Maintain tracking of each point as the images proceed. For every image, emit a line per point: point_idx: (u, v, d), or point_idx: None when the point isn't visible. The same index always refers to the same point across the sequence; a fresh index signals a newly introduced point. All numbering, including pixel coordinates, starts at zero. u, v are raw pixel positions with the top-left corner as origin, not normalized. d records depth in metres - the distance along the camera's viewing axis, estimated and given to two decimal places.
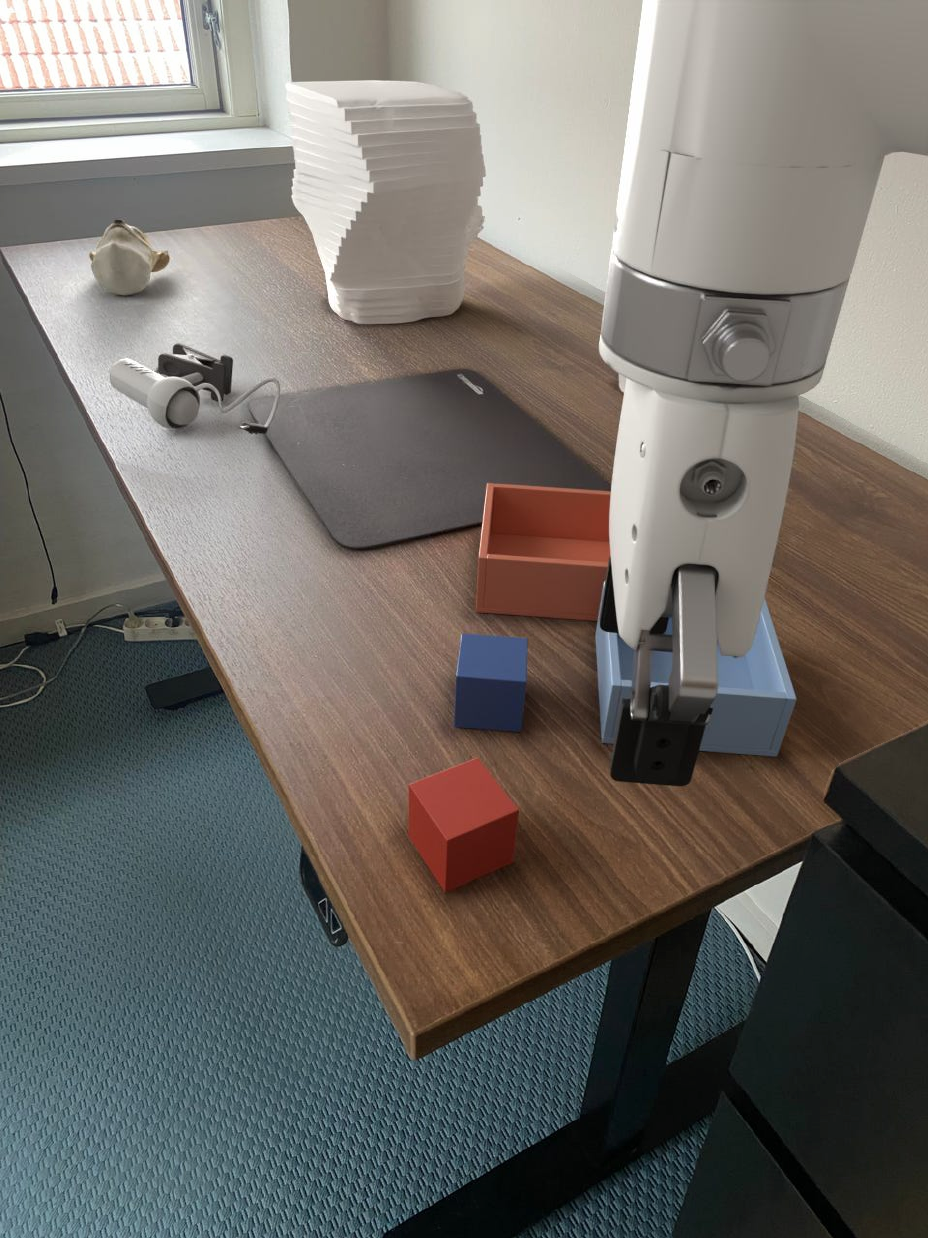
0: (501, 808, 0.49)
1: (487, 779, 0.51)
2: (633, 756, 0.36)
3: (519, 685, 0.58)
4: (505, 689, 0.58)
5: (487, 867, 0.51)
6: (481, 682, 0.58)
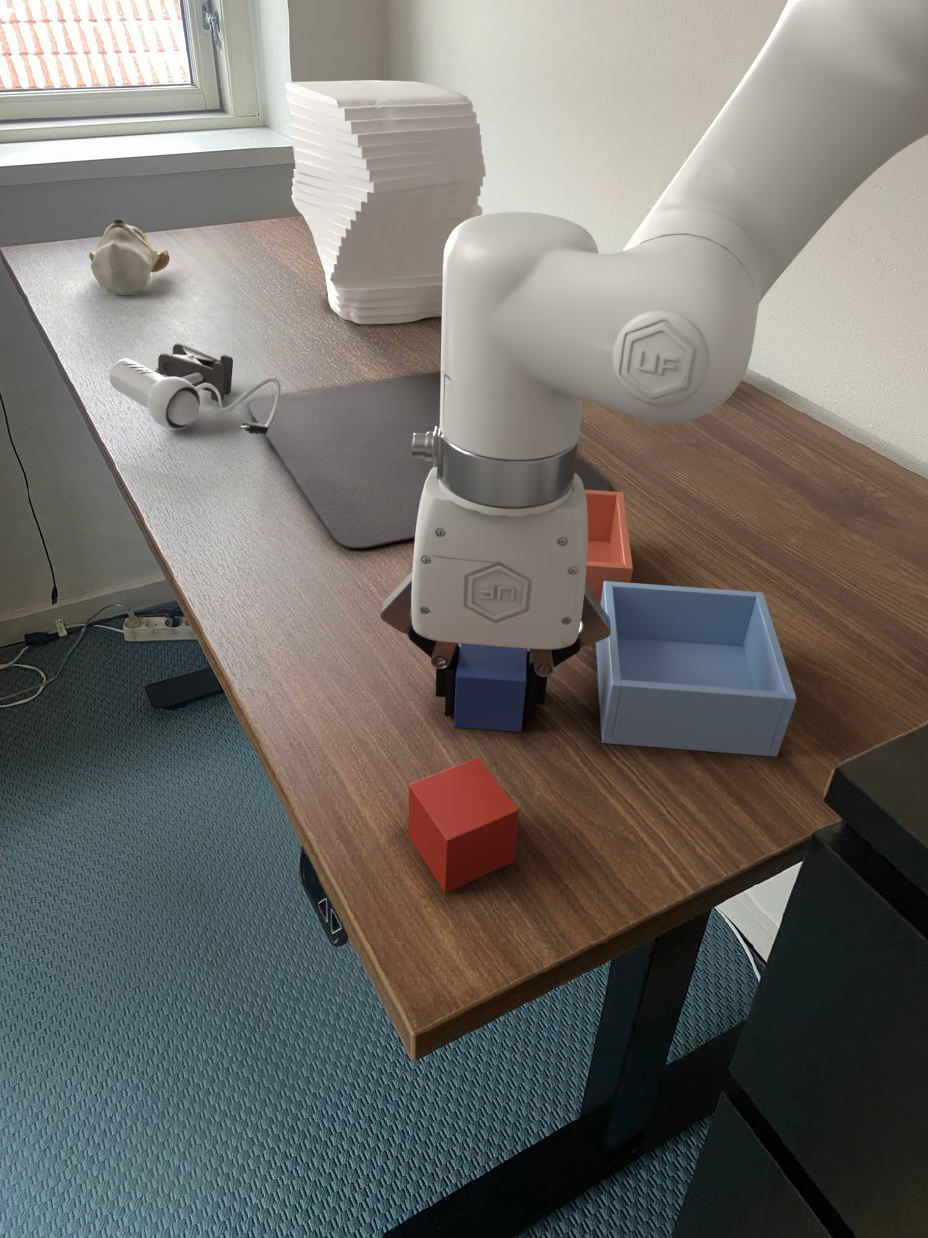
0: (501, 808, 0.49)
1: (487, 779, 0.51)
2: None
3: (519, 685, 0.58)
4: (505, 689, 0.58)
5: (487, 867, 0.51)
6: (481, 682, 0.58)
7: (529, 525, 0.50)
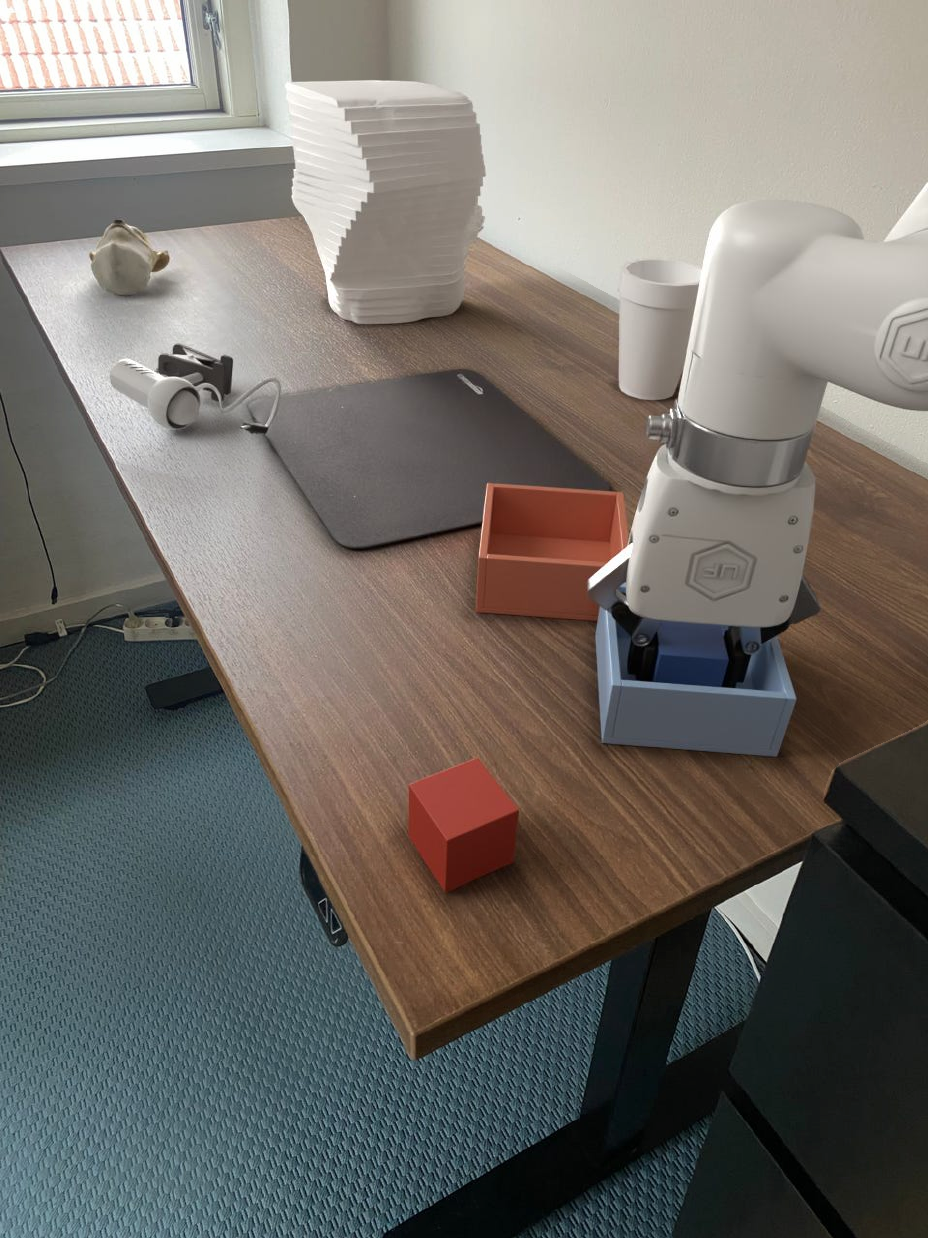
0: (501, 808, 0.49)
1: (487, 779, 0.51)
2: None
3: (721, 663, 0.59)
4: (707, 667, 0.60)
5: (487, 867, 0.51)
6: (684, 659, 0.59)
7: (763, 504, 0.52)
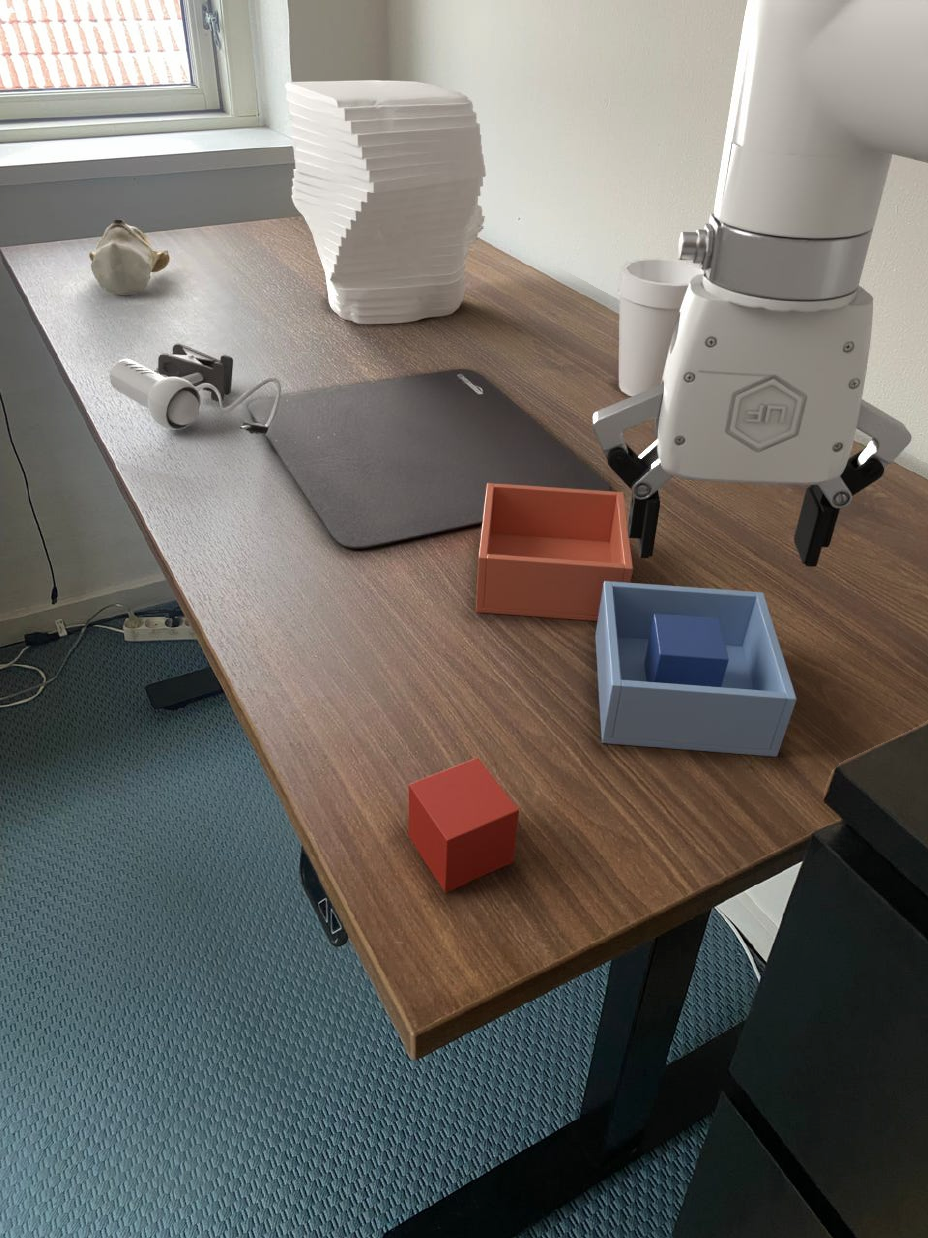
0: (501, 808, 0.49)
1: (487, 779, 0.51)
2: None
3: (721, 663, 0.59)
4: (707, 667, 0.60)
5: (487, 867, 0.51)
6: (684, 659, 0.59)
7: (814, 327, 0.45)
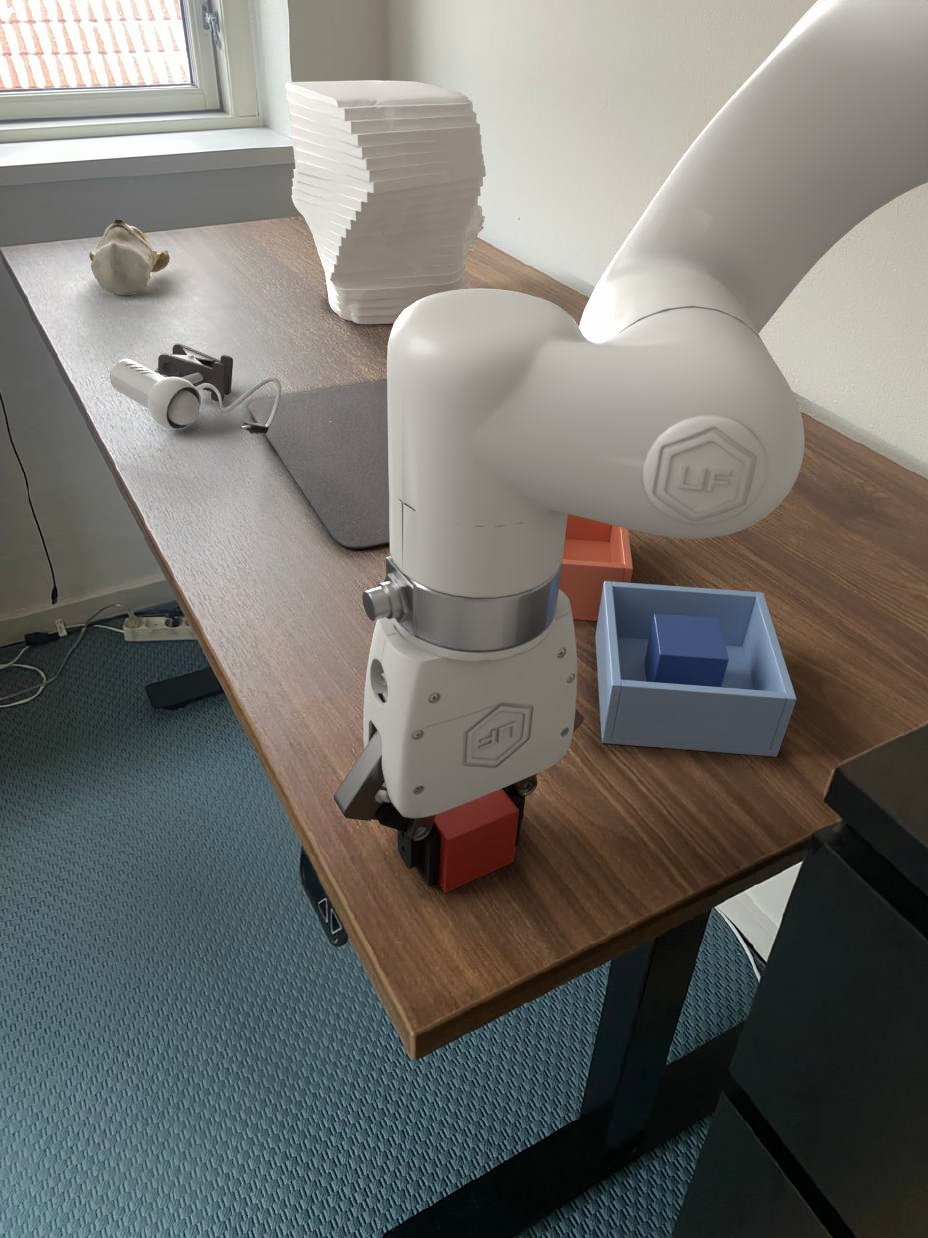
0: (501, 808, 0.49)
1: None
2: None
3: (721, 663, 0.59)
4: (707, 667, 0.60)
5: (487, 867, 0.51)
6: (684, 659, 0.59)
7: (530, 650, 0.41)
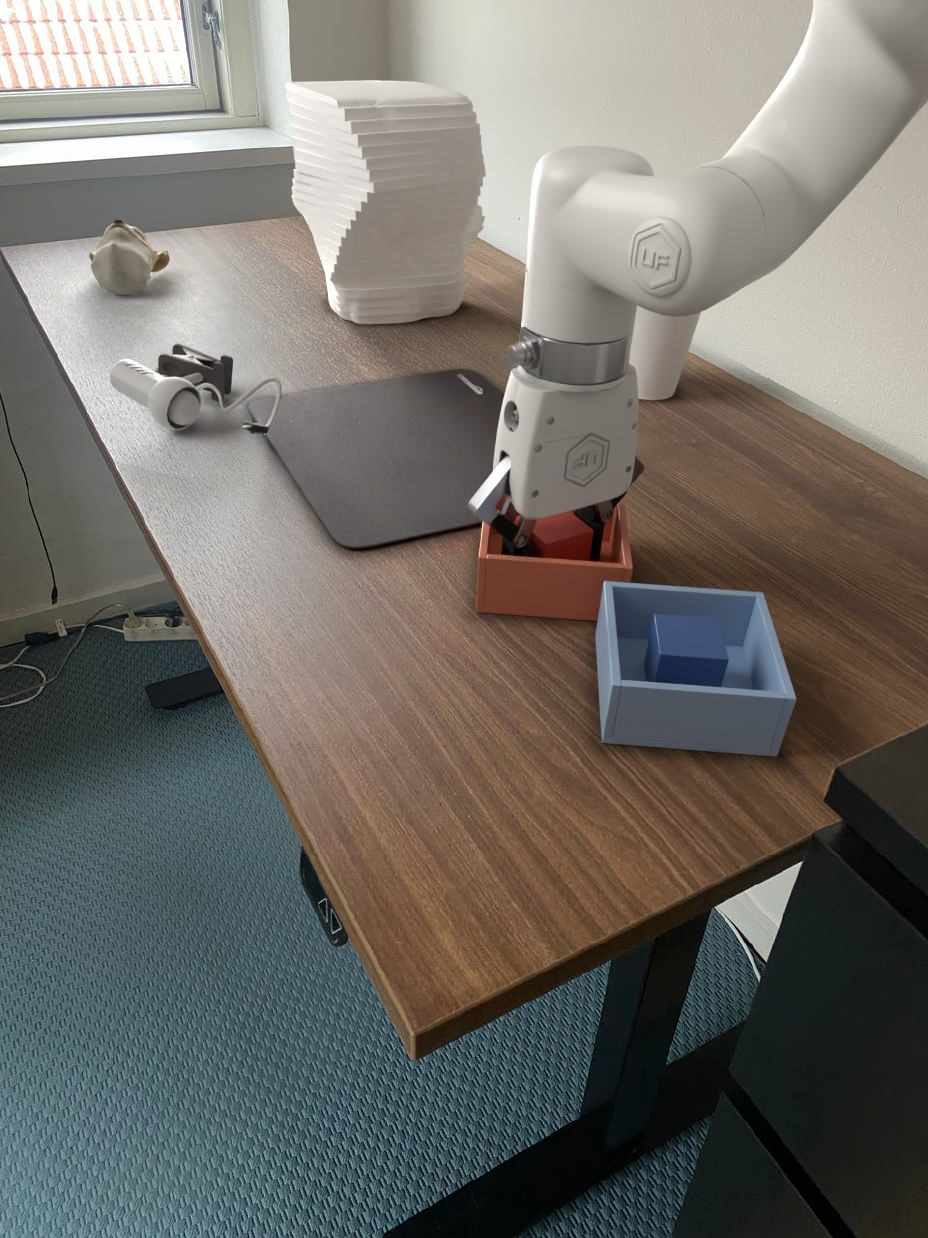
0: (581, 529, 0.71)
1: (569, 515, 0.73)
2: None
3: (721, 663, 0.59)
4: (707, 667, 0.60)
5: None
6: (684, 659, 0.59)
7: (610, 395, 0.63)
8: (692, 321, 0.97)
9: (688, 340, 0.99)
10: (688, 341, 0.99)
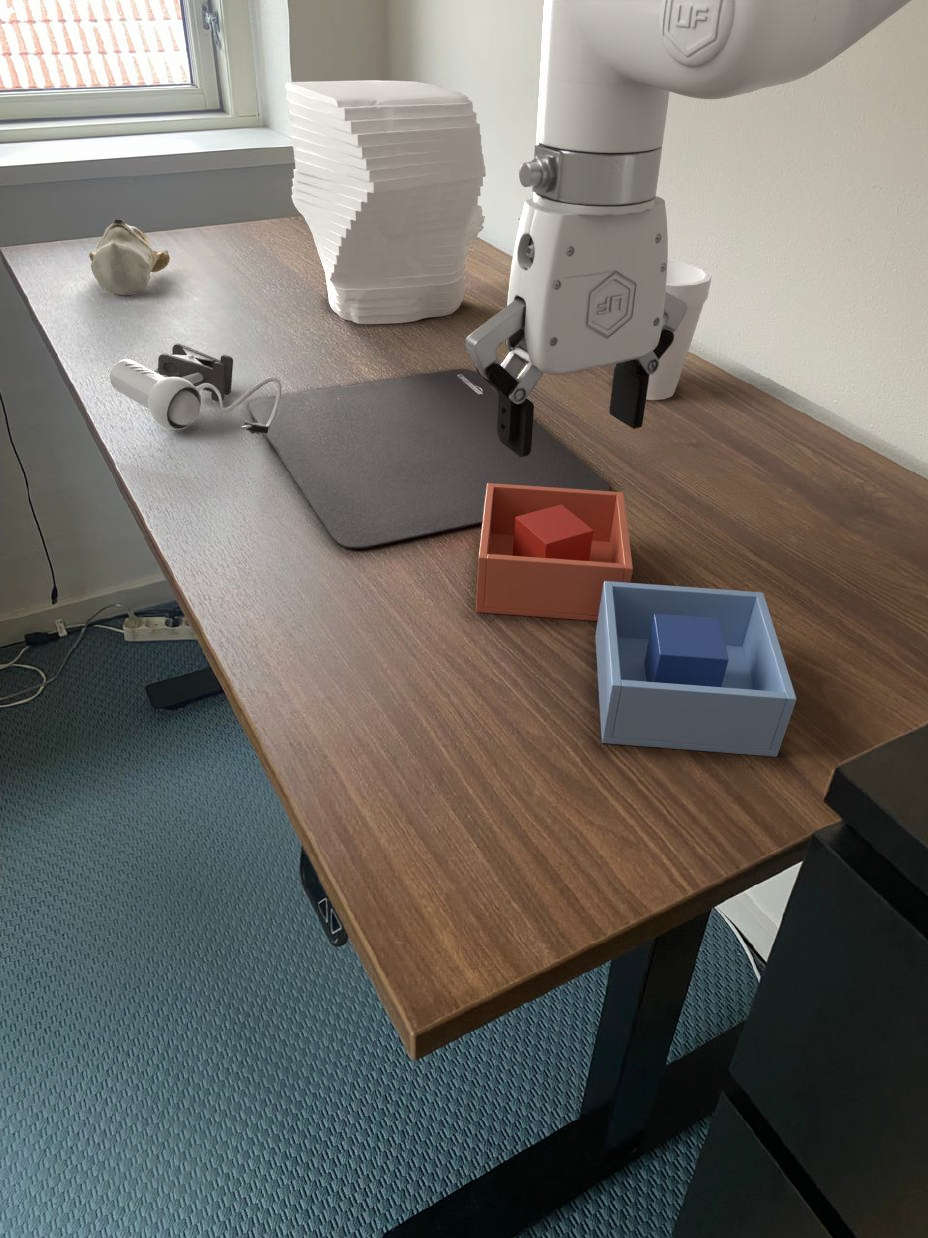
0: (581, 529, 0.71)
1: (569, 515, 0.73)
2: None
3: (721, 663, 0.59)
4: (707, 667, 0.60)
5: None
6: (684, 659, 0.59)
7: (637, 225, 0.57)
8: (692, 321, 0.97)
9: (688, 340, 0.99)
10: (688, 341, 0.99)
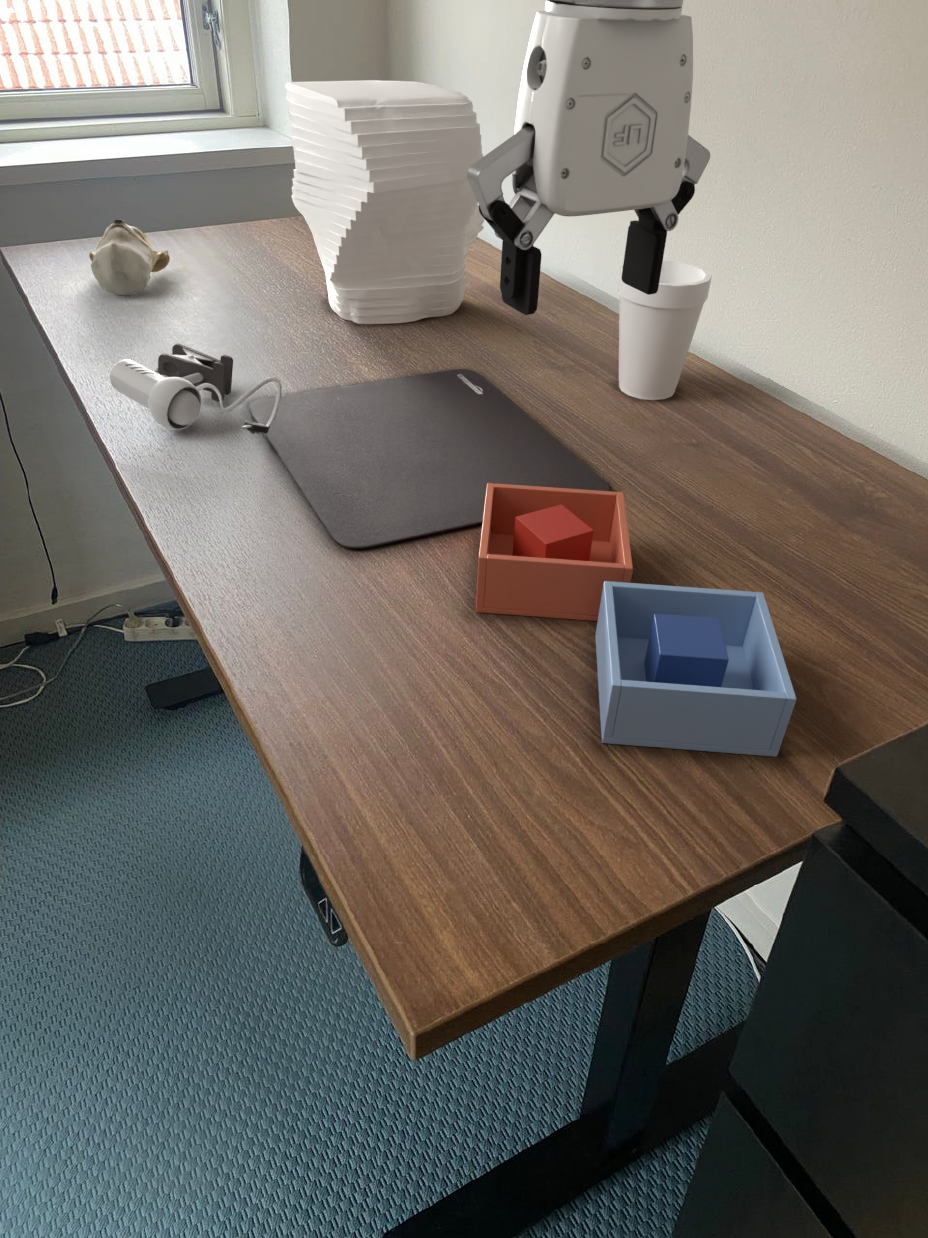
0: (581, 529, 0.71)
1: (569, 515, 0.73)
2: None
3: (721, 663, 0.59)
4: (707, 667, 0.60)
5: None
6: (684, 659, 0.59)
7: (660, 41, 0.51)
8: (692, 321, 0.97)
9: (688, 340, 0.99)
10: (688, 341, 0.99)
